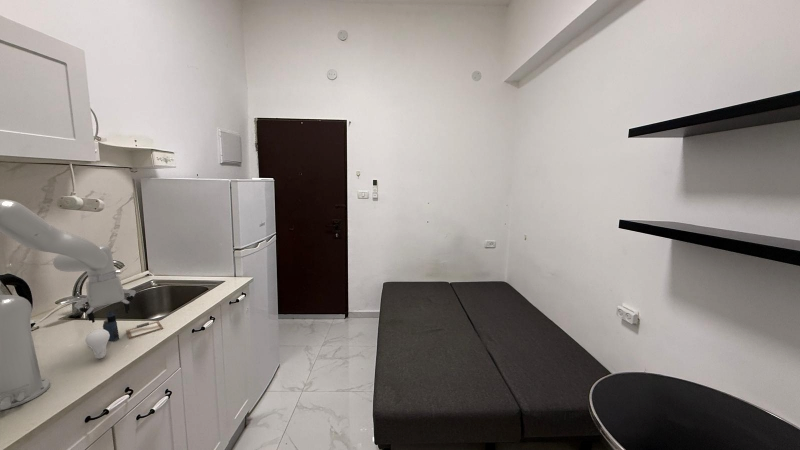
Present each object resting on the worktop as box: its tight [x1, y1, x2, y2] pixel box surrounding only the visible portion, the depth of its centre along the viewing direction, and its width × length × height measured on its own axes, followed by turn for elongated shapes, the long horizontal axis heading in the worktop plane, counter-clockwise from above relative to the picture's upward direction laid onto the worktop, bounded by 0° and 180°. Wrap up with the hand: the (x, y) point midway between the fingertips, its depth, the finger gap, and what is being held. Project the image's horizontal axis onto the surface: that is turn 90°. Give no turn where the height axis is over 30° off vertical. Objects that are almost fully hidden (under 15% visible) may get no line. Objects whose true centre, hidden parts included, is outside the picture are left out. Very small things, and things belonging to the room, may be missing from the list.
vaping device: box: [102, 311, 120, 343], centre depth 117 cm, size 3×5×12 cm, turn 78°
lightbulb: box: [84, 328, 110, 359], centre depth 105 cm, size 6×6×11 cm
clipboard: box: [125, 320, 164, 340], centre depth 126 cm, size 9×11×1 cm
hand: (110, 316), depth 117 cm, fingers open, 9 cm apart
